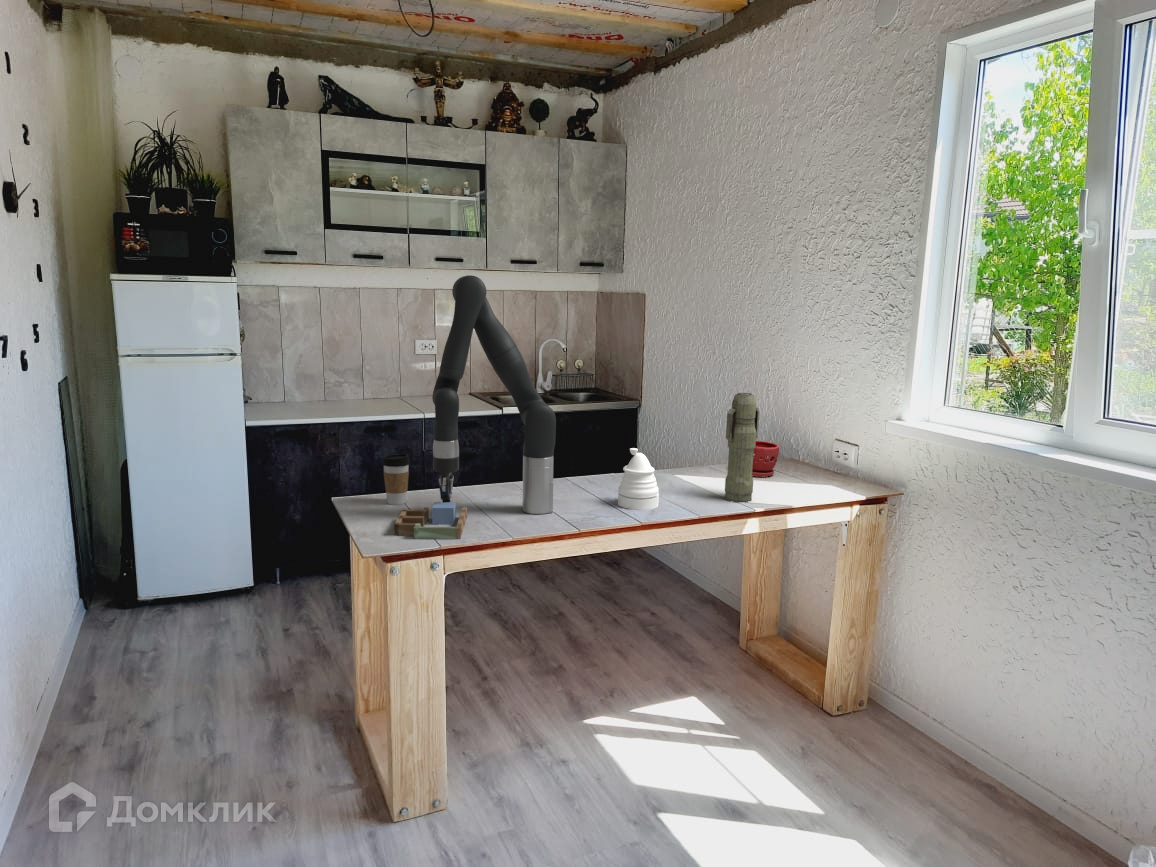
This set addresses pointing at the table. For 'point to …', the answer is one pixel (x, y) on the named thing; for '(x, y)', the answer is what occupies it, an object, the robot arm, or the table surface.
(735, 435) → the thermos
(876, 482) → the table surface
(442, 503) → the block
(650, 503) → the honey pot
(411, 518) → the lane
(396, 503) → the coffee cup
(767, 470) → the plant pot
